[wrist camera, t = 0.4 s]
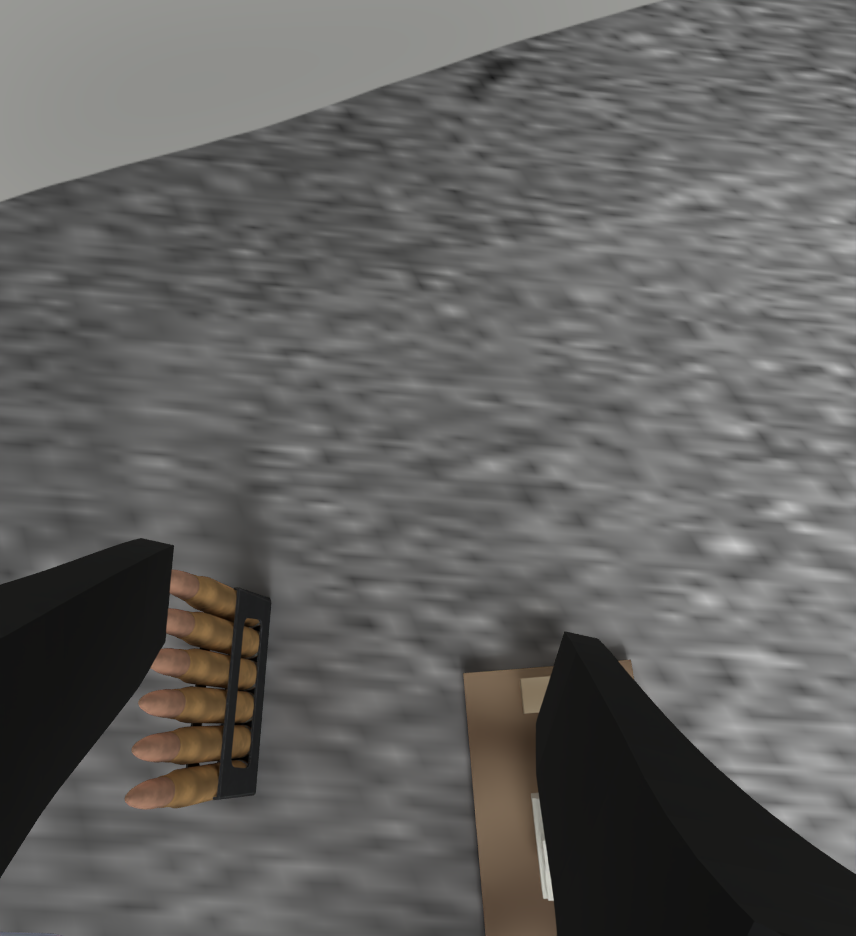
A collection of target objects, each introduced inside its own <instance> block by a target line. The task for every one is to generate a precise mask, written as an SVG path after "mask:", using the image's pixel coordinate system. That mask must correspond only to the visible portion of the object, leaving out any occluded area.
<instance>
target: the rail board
mask: <svg viewBox="0 0 856 936" xmlns="http://www.w3.org/2000/svg"><path fill="white" fill-rule="evenodd" d="M618 662H619V663H620V664H621V665H622V666H623V667H624V669H625V670H626V671H627V672H628V673H629V675H630V676H631V677H632V678H633V679H634V676H633V670H632V664H631V660H621V661H618ZM553 667H554V666H547V667H535V668H523V669H511V670H498V671H486V672H474V673H463V676H464V688H465V699H466V711H467V723H468V735H469V746H470V758H471V770H472V782H473V793H474V805H475V817H476V828H477V840H478V852H479V864H480V875H481V887H482V899H483V910H484V922H485V934H486V936H557V929H556V918H555V908H554V901H548V899H543V894H542V888H541V880H540V871H539V862H538V853H537V844H536V835H535V826H534V818H533V809H532V800H531V793H538V786H537V778H536V721H537V717H538V714H539V711H540V708H541V705H542V702H543V698H544V695H545V692H546V689H547V686H548V683H549V679H550V676H551V673H552V670H553Z"/></svg>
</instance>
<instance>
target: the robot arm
mask: <svg viewBox="0 0 856 936" xmlns="http://www.w3.org/2000/svg"><path fill="white" fill-rule="evenodd" d="M173 550H174V545H170V544H165V543H161V542H156V541H152V540H147V539H143V538H140V539H136V540H132V541H128V542H125V543H122V544H119V545H116V546H113V547H110V548H107V549H104V550H102V551H99V552H96V553H93V554H90V555H88V556H85V557H82V558H79V559H76V560H74V561H71V562H68V563H65V564H62V565H59V566H57V567H54V568H51V569H48V570H45V571H42V572H39V573H36V574H33V575H30V576H27V577H24V578H20V579H17V580H14V581H11V582H8V583H4V584H1V585H0V878H1V876H2V874H3V873H4V871H5V869H6V868H7V866H8V865H9V863H10V861H11V860H12V858H13V857H14V855H15V854H16V852H17V851H18V849H19V847H20V846H21V844H22V843H23V841H24V840H25V838H26V836H27V835H28V833H29V832H30V830H31V829H32V827H33V826H34V824H35V822H36V821H37V819H38V818H39V816H40V815H41V813H42V812H43V810H44V809H45V808H46V806H47V805H48V803H49V802H50V801H51V799H52V798H53V797H54V795H55V794H56V792H57V791H58V790H59V788H60V787H61V786H62V785H63V783H64V782H65V781H66V779H67V778H68V777H69V776H70V774H71V773H72V772H73V771H74V769H75V768H76V767H77V766H78V764H79V763H80V762H81V760H82V759H83V758H84V757H85V755H86V754H87V753H88V752H89V750H90V749H91V748H92V747H93V745H94V744H95V743H96V741H97V740H98V739H99V738H100V736H101V735H102V734H103V733H104V731H105V730H106V729H107V728H108V726H109V725H110V724H111V722H112V721H113V720H114V719H115V717H116V716H117V715H118V713H119V712H120V711H121V710H122V708H123V707H124V706H125V704H126V703H127V702H128V701H129V699H130V698H131V697H132V695H133V694H134V693H135V691H136V690H137V689H138V687H139V686H140V684H141V683H142V681H143V679H144V678H145V676H146V674H147V673H148V671H149V669H150V668H151V666H152V664H153V662H154V661H155V659H156V657H157V655H158V653H159V652H160V650H161V648H162V646H163V645H164V643H165V640H166V628H167V617H168V606H169V595H170V584H171V573H172V561H173ZM536 778H537V786H538V793H539V801H540V808H541V815H542V822H543V829H544V836H545V843H546V850H547V857H548V864H549V871H550V878H551V885H552V892H553V898H554V908H555V918H556V929H557V936H856V874H855V873H853V872H851V871H850V870H848V869H847V868H845V867H844V866H842V865H841V864H839V863H838V862H836V861H835V860H833V859H832V858H831V857H829V856H828V855H826V854H825V853H823V852H822V851H820V850H819V849H818V848H816V847H815V846H813V845H812V844H811V843H809V842H808V841H807V840H805V839H804V838H803V837H801V836H800V835H799V834H797V833H796V832H795V831H793V830H792V829H791V828H789V827H788V826H787V825H785V824H784V823H783V822H781V821H780V820H779V819H777V818H776V817H775V816H773V815H772V814H771V813H770V812H768V811H767V810H766V809H765V808H763V807H762V806H761V805H760V804H758V803H757V802H756V801H755V800H753V799H752V798H751V797H750V796H749V795H748V794H746V793H745V792H744V791H743V790H742V789H741V788H740V787H738V786H737V785H736V784H735V783H734V782H733V781H732V780H730V779H729V778H728V777H727V776H726V775H725V774H724V773H722V772H721V771H720V770H719V769H718V768H717V767H716V766H715V765H714V764H713V763H712V762H710V761H709V760H708V759H707V758H706V757H705V756H704V755H703V754H702V753H701V752H700V751H699V750H698V749H697V748H696V747H695V746H694V745H693V744H692V743H691V742H690V741H689V740H688V739H687V738H686V737H685V736H684V735H683V734H682V733H681V732H680V731H679V730H678V729H677V728H676V726H675V725H674V724H673V723H672V722H671V721H670V720H669V719H668V718H667V717H666V716H665V715H664V714H663V712H662V711H661V710H660V709H659V708H658V707H657V706H656V705H655V703H654V702H653V701H652V700H651V699H650V698H649V697H648V696H647V694H646V693H645V692H644V691H643V690H642V689H641V687H640V686H639V685H638V684H637V683H636V682H635V680H634V679H633V678H632V677H631V676H630V675H629V673H628V672H627V671H626V670H625V669H624V667H623V666H622V665H621V664H620V663H619V662H618V660H617V659H616V658H615V657H614V656H613V654H612V653H611V652H610V651H609V650H608V649H607V648H606V647H605V645H604V644H603V643H602V642H601V641H600V640H599V639H597V638H592V637H588V636H583V635H579V634H574V633H570V632H564V635H563V638H562V641H561V645H560V648H559V651H558V654H557V657H556V660H555V664H554V667H553V670H552V673H551V676H550V679H549V683H548V686H547V689H546V692H545V695H544V698H543V702H542V705H541V708H540V711H539V714H538V717H537V721H536ZM0 936H62V935H58V934H53V933H19V932H0Z"/></svg>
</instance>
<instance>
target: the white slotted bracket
mask: <svg viewBox="0 0 856 936" xmlns="http://www.w3.org/2000/svg"><path fill="white" fill-rule="evenodd" d="M531 800H532V809H533V818H534V826H535V835H536V844H537V853H538V862H539V871H540V880H541V888H542V894H543V899H548V901H554V898H553V892H552V885H551V878H550V871H549V864H548V857H547V850H546V843H545V836H544V829H543V822H542V815H541V808H540V801H539V793H531Z"/></svg>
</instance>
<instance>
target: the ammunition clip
mask: <svg viewBox="0 0 856 936" xmlns="http://www.w3.org/2000/svg"><path fill="white" fill-rule="evenodd" d="M170 593H171V594H172V595H174V596H176V597H178V598H180V599H182V600H184V601H186V602H187V603H188V604H189V605H190V606H192V607H193V608H195V609H197V610H200V611H203V612H204V613H203V612H189V611H183V610H179V609H170V608H168V617H167V628H166V633H167V634H169V635H172V636H175V637H177V638H180V639H182V640H184V641H185V642H186V643H188V644H190V645H193V646H197V647H200V649H195V648H194V649H189V650H183V649H172V648H165V649H161V650H160V652H159V653H158V655H157V657H156V659H155V661H154V662H153V664H152V666H151V669H153V670H154V671H156V672H158V673H161V674H163V675H168V676H171V677H175V678H179V679H180V680H182V681H184V682H186V683H190V684H196V685H195V687H193V686H190V687H185V688H181V689H172V690H171V689H164V690H158V691H153V692H150V693H148V694H146V695H144V696H143V697H141V699H140V700H139V702H138V704H139V706H140V708H141V709H142V710H144V711H145V712H147V713H148V714H151V715H154V716H158V717H163V718H170V719H176V720H178V721H180V722H184V723H191V727H183V728H178V729H176V730H174V731H169V732H165V733H157V734H153V735H149V736H147V737H145V738H143V739H141V740H140V741H138V742H136V743H135V744H134V746H133V747H132V753H133V754H134V755H135V756H136V757H138V758H140V759H142V760H145V761H150V762H172V763H175V764H180V765H185V764H186V768H182V769H177V770H174V771H172V772H170V773H169V774H167V775H164V776H160V777H158V778H154V779H150V780H147V781H144V782H142V783H140V784H139V785H137V786H135V787H134V788H133V789H131V790H130V791H129V792H128V793H127V795H126V796H125V802H126V803H127V804H128V805H130V806H131V807H134V808H139V809H154V808H164V807H171V808H181V807H186V806H190V805H194V804H198V803H202V802H206V801H210V800H221V799H228V798H236V797H243V796H251V795H254V794H255V793H256V783H257V771H258V758H259V746H260V734H261V722H262V709H263V697H264V685H265V673H266V660H267V648H268V636H269V623H270V611H271V600H270V599H269V598H267V597H264V596H261V595H259V594H256V593H253V592H250V591H247V590H244V589H241V588H234V589H233V588H231V587H229V586H227V585H224V584H222V583H220V582H218V581H216V580H214V579H211V578H209V577H203V576H196V575H193V574H189V573H187V572H183V571H179V570H172V573H171V584H170ZM210 650H213V651H217V652H221V653H225V654H228V655H224V654H220V653H215V652H211V651H210ZM206 686H213V687H220V688H225V689H214V688H206ZM202 723H221V726H202ZM210 761H217V763H214V764H208V765H201V766H200V765H199V763H201V762H210Z"/></svg>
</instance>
